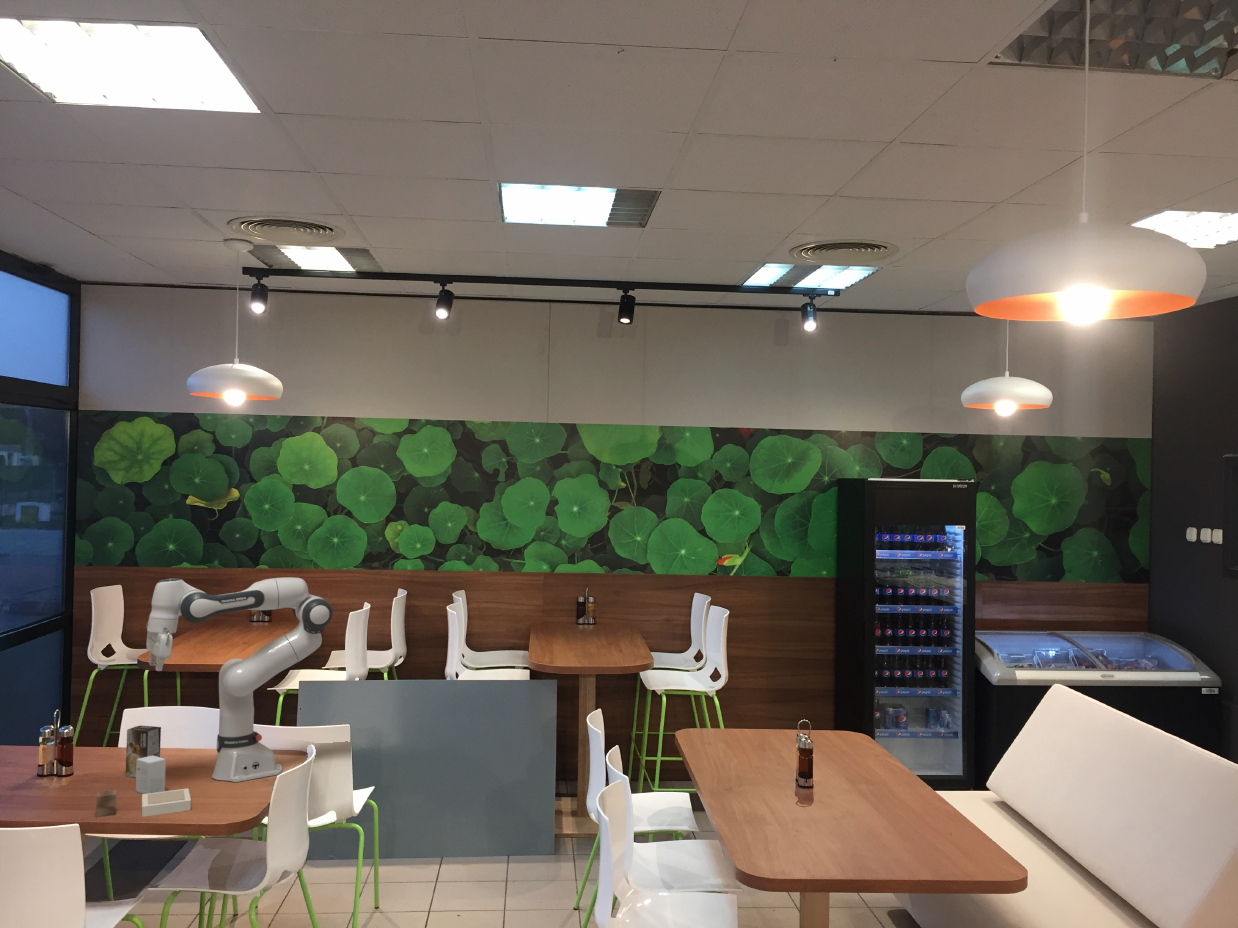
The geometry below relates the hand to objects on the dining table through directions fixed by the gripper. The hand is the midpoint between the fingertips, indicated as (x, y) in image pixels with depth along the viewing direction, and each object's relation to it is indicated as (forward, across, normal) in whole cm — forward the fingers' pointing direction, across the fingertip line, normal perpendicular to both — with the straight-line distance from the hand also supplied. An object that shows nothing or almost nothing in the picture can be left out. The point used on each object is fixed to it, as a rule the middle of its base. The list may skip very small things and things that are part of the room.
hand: (155, 667), depth 290 cm
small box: (+39, -7, -3) cm, 40 cm away
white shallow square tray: (+38, -26, -4) cm, 46 cm away
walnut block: (+40, -22, +12) cm, 47 cm away
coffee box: (+39, +14, -5) cm, 42 cm away
